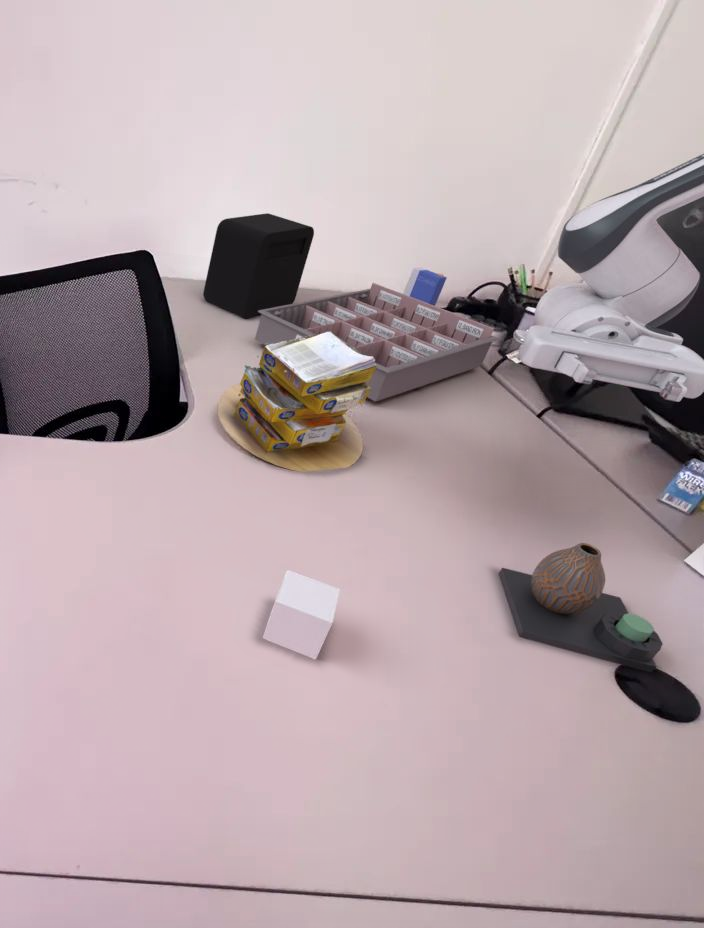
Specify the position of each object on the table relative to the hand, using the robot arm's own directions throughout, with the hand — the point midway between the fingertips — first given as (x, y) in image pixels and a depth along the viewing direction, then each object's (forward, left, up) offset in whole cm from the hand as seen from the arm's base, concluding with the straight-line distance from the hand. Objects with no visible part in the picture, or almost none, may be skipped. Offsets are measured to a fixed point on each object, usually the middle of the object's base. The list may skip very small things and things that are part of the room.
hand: (631, 386), depth 80 cm
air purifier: (+47, -82, -26) cm, 98 cm away
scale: (-2, +13, -26) cm, 29 cm away
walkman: (+6, -96, -26) cm, 100 cm away
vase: (0, +12, -25) cm, 28 cm away
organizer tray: (+19, -61, -26) cm, 69 cm away
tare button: (-6, +16, -23) cm, 29 cm away
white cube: (+31, +29, -26) cm, 50 cm away
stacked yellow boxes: (+34, -19, -26) cm, 47 cm away
